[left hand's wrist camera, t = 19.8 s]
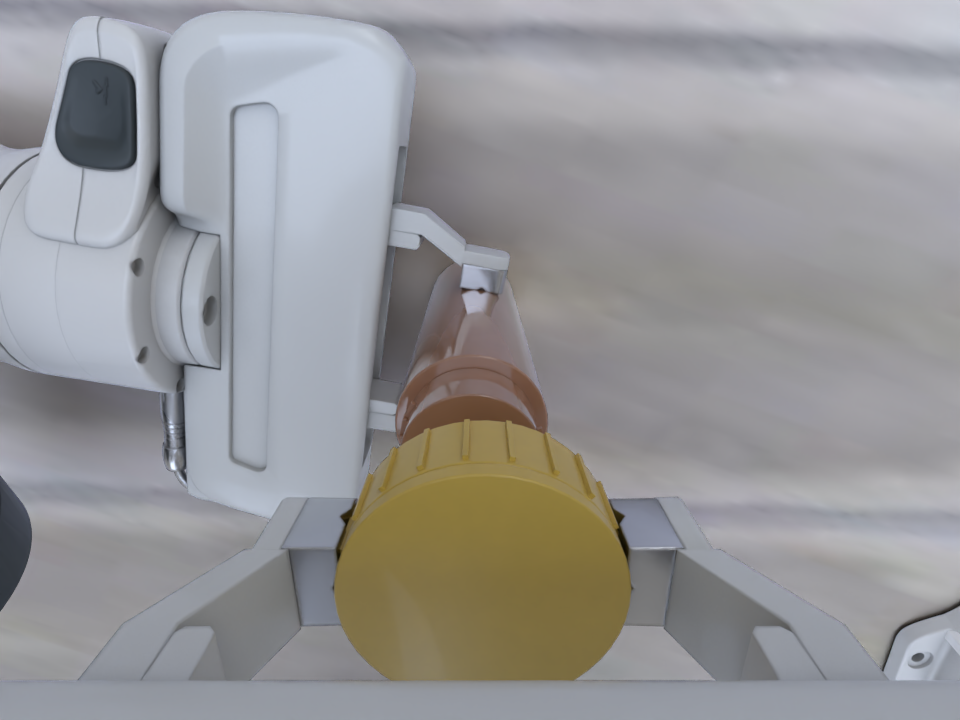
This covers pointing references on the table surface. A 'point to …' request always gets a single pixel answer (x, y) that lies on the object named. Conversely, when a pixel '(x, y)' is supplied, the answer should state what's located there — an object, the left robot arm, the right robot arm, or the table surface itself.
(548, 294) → the table surface
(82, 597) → the table surface
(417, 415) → the brown piece
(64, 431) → the table surface
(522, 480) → the lid
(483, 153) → the table surface
